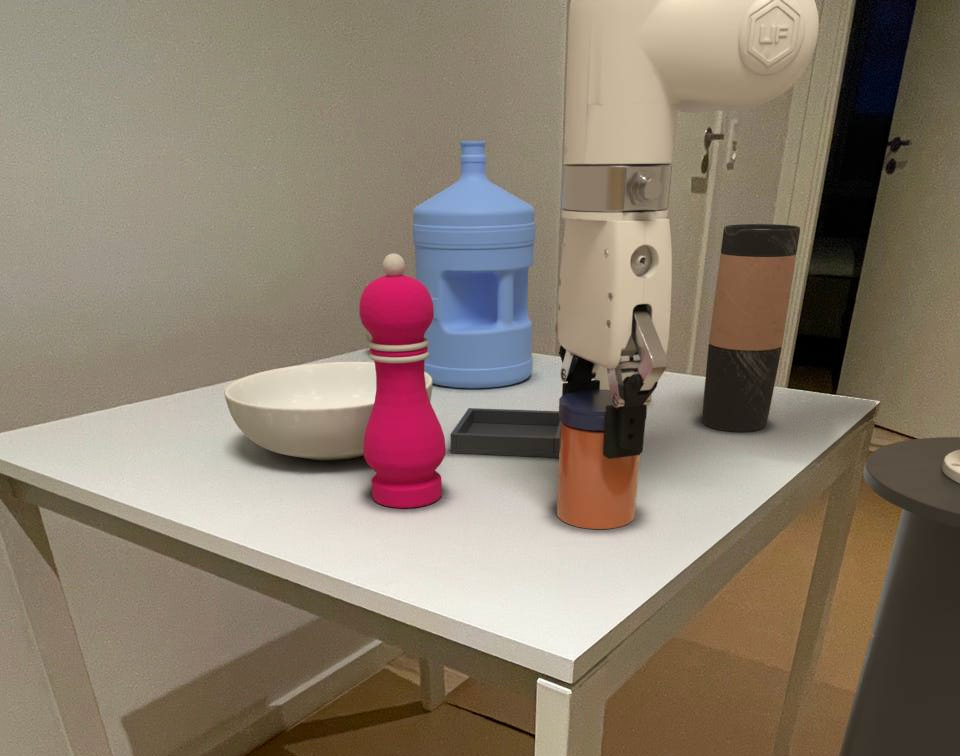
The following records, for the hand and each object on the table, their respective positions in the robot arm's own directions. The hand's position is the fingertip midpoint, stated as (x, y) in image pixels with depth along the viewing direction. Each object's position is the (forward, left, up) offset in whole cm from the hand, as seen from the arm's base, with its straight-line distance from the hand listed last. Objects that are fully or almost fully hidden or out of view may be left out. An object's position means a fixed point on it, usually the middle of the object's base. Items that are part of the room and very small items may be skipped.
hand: (599, 440), depth 68 cm
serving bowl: (+28, -15, -7) cm, 32 cm away
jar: (0, 0, -6) cm, 6 cm away
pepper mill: (+17, -2, -7) cm, 18 cm away
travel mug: (-14, -30, -7) cm, 34 cm away
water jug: (+19, -49, -7) cm, 53 cm away
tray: (+10, -20, -6) cm, 23 cm away
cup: (-1, -38, -7) cm, 39 cm away
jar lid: (0, 0, +3) cm, 3 cm away
